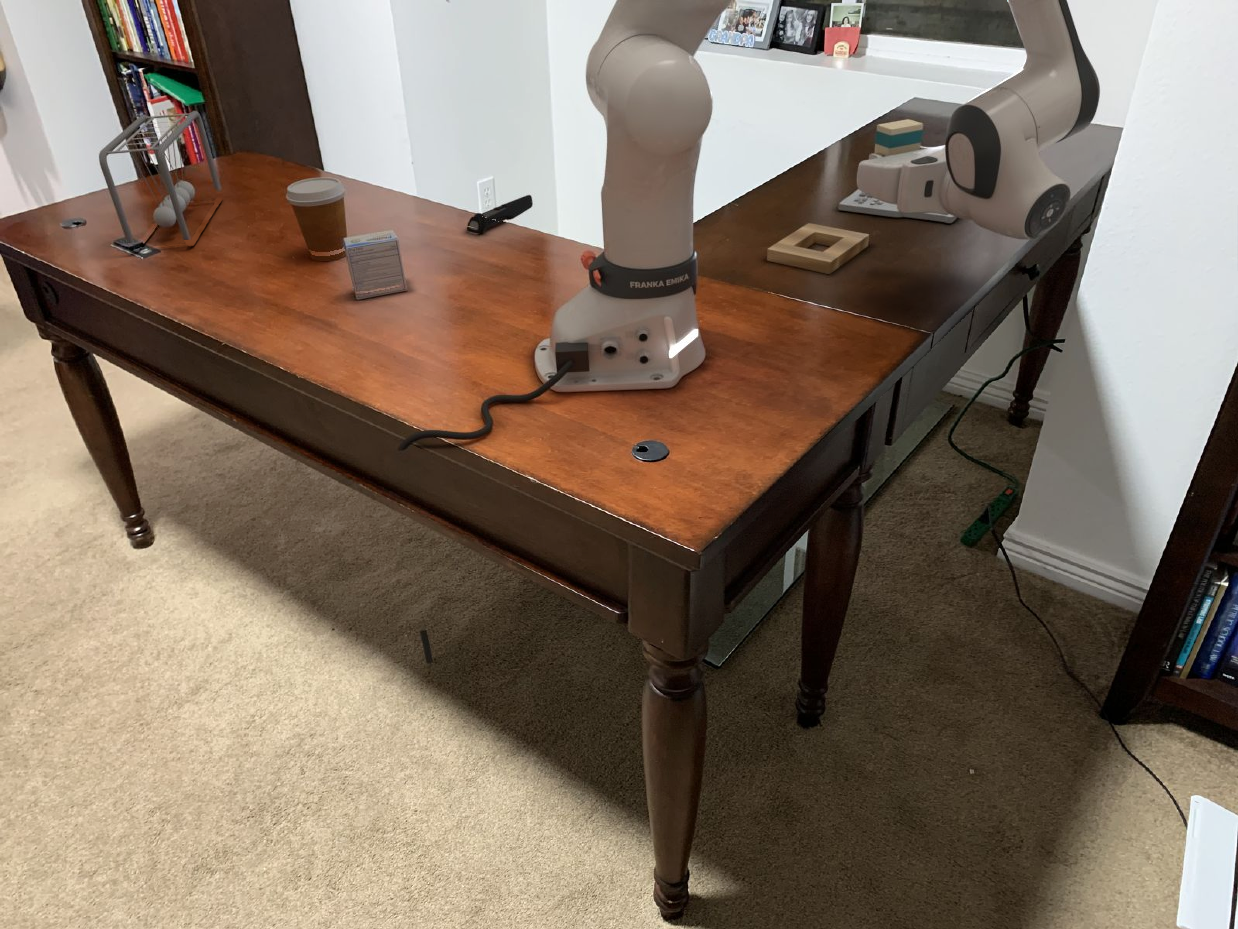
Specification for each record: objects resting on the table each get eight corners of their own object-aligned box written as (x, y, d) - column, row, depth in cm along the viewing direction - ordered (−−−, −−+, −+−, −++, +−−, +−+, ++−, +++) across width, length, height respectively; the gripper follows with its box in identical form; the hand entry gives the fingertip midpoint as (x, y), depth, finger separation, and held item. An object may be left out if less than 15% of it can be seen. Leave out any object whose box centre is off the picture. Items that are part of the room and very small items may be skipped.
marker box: (883, 200, 133) (891, 129, 127) (869, 194, 136) (876, 124, 130) (914, 194, 135) (924, 123, 129) (900, 188, 137) (908, 118, 132)
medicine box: (403, 281, 147) (393, 228, 142) (408, 291, 143) (398, 237, 139) (353, 290, 145) (341, 237, 140) (357, 301, 141) (345, 246, 136)
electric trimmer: (538, 212, 173) (537, 195, 171) (480, 235, 163) (478, 218, 161) (524, 208, 175) (522, 192, 173) (465, 232, 165) (463, 214, 163)
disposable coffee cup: (296, 251, 160) (279, 182, 154) (350, 240, 164) (336, 172, 157) (307, 269, 153) (290, 197, 146) (364, 257, 157) (349, 187, 150)
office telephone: (881, 163, 181) (986, 175, 171) (879, 176, 182) (984, 189, 173) (839, 196, 164) (953, 211, 155) (837, 210, 166) (950, 226, 157)
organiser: (829, 274, 142) (830, 262, 141) (766, 260, 148) (767, 248, 147) (868, 246, 151) (869, 234, 150) (807, 234, 157) (808, 222, 156)
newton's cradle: (171, 203, 187) (142, 112, 177) (224, 199, 188) (199, 107, 178) (131, 256, 162) (95, 153, 152) (192, 250, 163) (161, 148, 153)
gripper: (1023, 142, 124) (953, 121, 134) (899, 167, 117) (835, 143, 128) (1014, 189, 127) (946, 165, 138) (893, 215, 121) (831, 188, 131)
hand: (892, 154), depth 133 cm, fingers closed on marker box, 5 cm apart
